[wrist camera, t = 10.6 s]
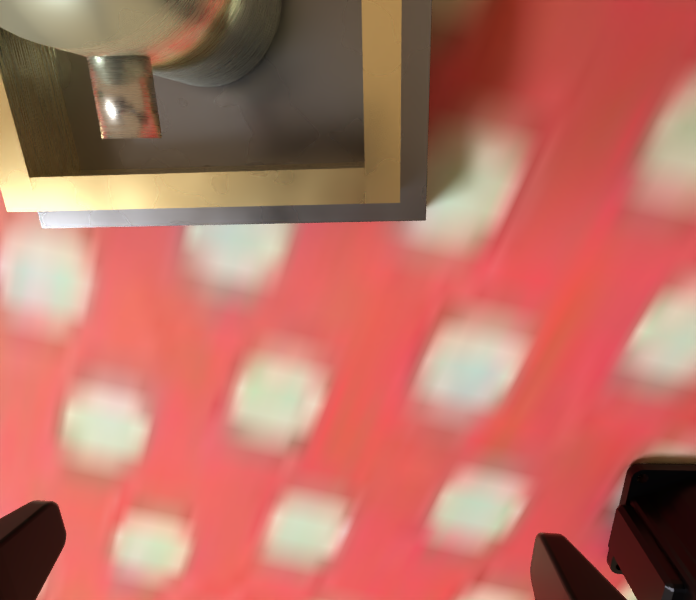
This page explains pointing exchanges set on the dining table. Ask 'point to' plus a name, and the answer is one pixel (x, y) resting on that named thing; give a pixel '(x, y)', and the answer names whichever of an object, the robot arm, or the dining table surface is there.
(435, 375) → the dining table surface
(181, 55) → the spout can
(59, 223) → the open square box
